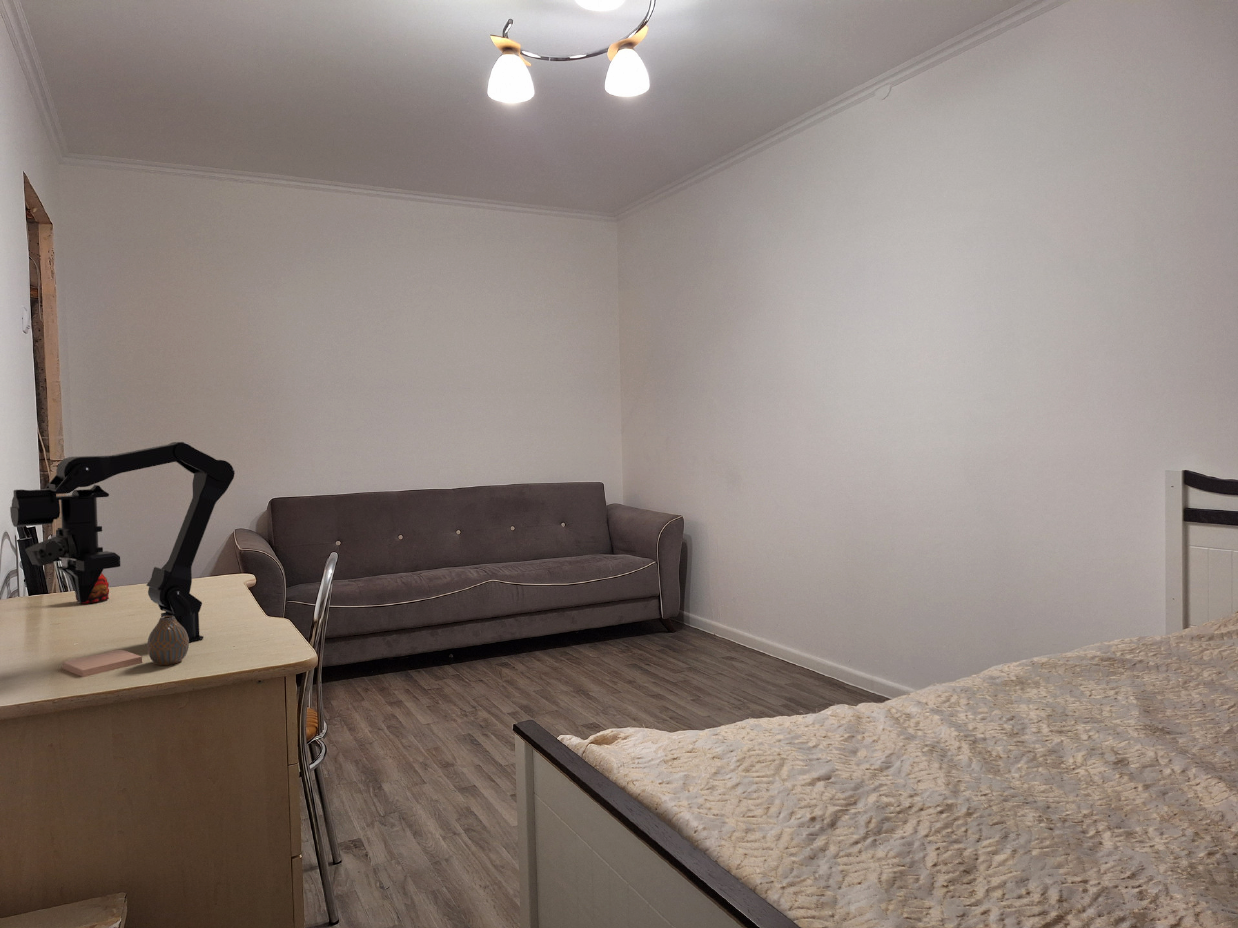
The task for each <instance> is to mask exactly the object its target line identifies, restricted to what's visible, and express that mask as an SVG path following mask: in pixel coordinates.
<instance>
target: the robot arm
mask: <svg viewBox="0 0 1238 928" xmlns="http://www.w3.org/2000/svg"><path fill="white" fill-rule="evenodd" d="M170 463H177V464H179V466H181V467H182V468H184V469H185V470H186V471H187V472H189V473H191V474H193V477H192V478H193V479H192V482H191V483H192V498H191V501H190V504H189V506H188V508H187V511H186V515H185V517H184V519H183V522H182V525H181V527H180V529H179V532H178V535H177V536H176V540H175V541H174V544H173V548H172V551H171V553H170V555H169V558H168V560H167V561H166V563H165V564H163V566H162V567H161V568H160V567H156V566H154V567H153V569H152V572H151V576H150V580H149V581H148V582H146V583H147V584H146V586H147V587H148V590H147V595H148V597H149V598H150V600H151V601H152V602H153V603H154V604H157V606H158V608H159V610H160V611H162V612H161V613H160V618H161V617H164V616H174V617H175V619H176V620H177V622H178V623H180V624H181V625H182V626H183V627H184V629H185V630H186V632H187V634H188V638H189V643H192V642H195V641H200V640H204V635H201V634H200V616H199V613H200V611H201V608H202V605H203V602H202V600H199V598H197V597H196V596H194V595H192V594H191V589H192V582H193V579H192V578H193V575H192V567H193V564H194V561H195V558H196V556H197V553H198V550H199V548H200V545H201V544H202V543H201V542H202V541H203V537H204V535H205V532H206V530H207V527H208V524H209V521H210V519H211V516H212V513H213V511H214V509H215V505H216V504H217V502H218V501H219V500H220V499H221V498H222V496H223V495H224V494H225V493H226V492H227V490H228V489H229V487H230V486H231V484H232V482H233V480H234V479H235V470H234V467H233V465H232V464H231V463H230V462H229V461H227V460H223V459H216V458H215V457H213V456H211V455H209V454H206V453H204V452H202V451H201V450H198V449H196V448H195V447H193V446H191V445H190V443H187V442H184V441H172V442H170V443H168V444H162V445H159V446H154V447H153V446H152V447H148V448H143V449H137V450H132V451H128V452H127V451H126V452H122V453H116V454H110V455H85V456H84V455H83V456H79V455H78V456H68V457H66V458H64V459H62V460H60V461H59V464H57V468H56V474H55V476H54V477H53V478H52V479H51V480H50V481H49V483H48V484H47V485H46V486H45V488H44V489H29V490H28V489H14V490H13V492H12V493H13V497H12V499H11V506H10V508H9V511H10V520H11V523H12V526H13V527H14V528H18V527H19V528H20V527H30V526H32V527H33V526H44V525H52V524H53V523H54V521H55V520H58V519H59V517H60V514H61V517H60V518H61V527H57V529H56V530H55V536H54V537H52V538H48V539H46V540H43V541H40V542H38V543H35V544H33V545H32V546H28V547H27V548H25V552H26V554H27V556H28V559H29V560H30V562H31V564H32V565H33V566H34V565H37V567H42V566H47V565H52V564H53V563H54V562H60V563H61V564H60V566H57V567H56V569H57V570H58V571H60V572H62V573H64V574H66V575H67V576H68V579H69V580H70V583H71V585H72V588H73V591H74V594H75V593H76V594H75V597H76V596H77V599H78V601H79V602H80V603H84V602H87V600H88V598H89V596H90V594H91V592H92V590H93V588H94V586H95V584H96V582H97V580H98V578H99V576H100V575H101V573H102V574H103V571H104V570H107V569H113V568H120V567H121V556H120V555H118V554H117V553H116V552H113V551H108V550H105V551H104V549H103V548H104V547H102V546H99V532H103V526H101V525H99V524H98V505H97V504H98V501H97V498H98V499H99V498H107V497H108V498H109V496H110V494H109V492H107V491H105V490H104V489H103V487H101V486H100V485H99V484H98V483H100V482H103V481H106V480H108V479H110V478H112V477H114V476H116V475H119V474H122V473H128V472H133V471H138V470H142V469H147V468H151V467H156V466H161V465H165V464H167V465H168V464H170ZM92 485H93V486H92ZM90 486H92V487H91V488H89V489H78V488H87V487H90ZM70 493H71V494H70ZM64 494H66V495H64ZM67 494H69V495H67ZM78 601H77V602H78ZM79 602H78V603H79ZM80 603H79V604H80Z"/></svg>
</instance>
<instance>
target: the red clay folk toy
mask: <svg viewBox="0 0 1238 928" xmlns="http://www.w3.org/2000/svg"><path fill="white" fill-rule="evenodd" d="M109 586H110V585H109V582H108V579H107V577H106V576H105V575H104V574H103V572H102V573H101V575H100V576H99V578H98V580H97V582H96V584H95V586H94V588H93V590H92V592H91V594H90V596H89V598H88V600H87V602H84V603H80V602H79V601H78V599H77V596H76V593H75V592H74V594H75V600H76V601H77V602H78V603H79V604H82V605H89V604H95V603H97V602H105V601H108V600H110V599H109V596H110V595H109V593H110V589H109Z"/></svg>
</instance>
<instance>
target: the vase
mask: <svg viewBox="0 0 1238 928" xmlns="http://www.w3.org/2000/svg"><path fill="white" fill-rule="evenodd" d="M189 646H190V642H189V638H188V634H187V632H186V630H185V629H184V627H183V626H182V625H181V624H180V623H178V622H177V620H176V619H175V617H174V616H164V617H161V616H160V617H159V620H158V621H157V623H156V625H155V626H154V628H152V630H151V632H150V634H149V636H148V639H147V643H146V648H147V654H148V657H149V658H150V660H151V661H152V662H153V663H154V664H156V665H158V666H172V665H175V664H178V663H181V662H182V660H184V658H185V657H186V656H187V654H188V651H189V648H190V647H189Z"/></svg>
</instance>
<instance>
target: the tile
mask: <svg viewBox="0 0 1238 928" xmlns="http://www.w3.org/2000/svg"><path fill="white" fill-rule="evenodd" d="M142 663H143V656H141V655H138V654H135V653H134V652H133V653H132V652H129V651H127V650H123V649H115V650H111V651H107V652H101V653H97V654H91V655H88V656H84V657H79V658H74V659H69V660H66V661H62V662H61V664H62V665H61V666H62V667H61V668H62V669H63V670H65V671H67V672H70V673H72V674H75V675H78V676H80V677H82V678H84V677H89V676H92V675H97V674H101V673H105V672H110V671H114V670H118V669H122V668H123V669H124V668H127V667H131V666H135V665H139V664H142Z"/></svg>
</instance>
